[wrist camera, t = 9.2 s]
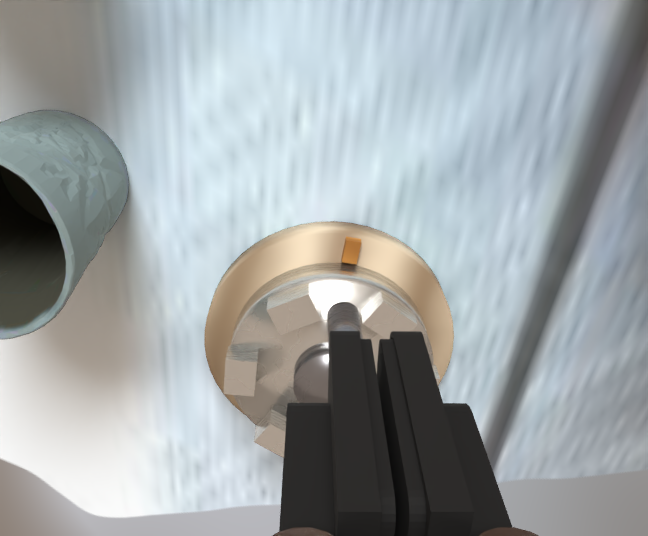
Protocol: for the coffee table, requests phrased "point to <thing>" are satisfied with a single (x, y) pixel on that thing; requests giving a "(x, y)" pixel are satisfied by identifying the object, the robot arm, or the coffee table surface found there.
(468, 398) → the coffee table surface
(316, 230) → the round tan disc base
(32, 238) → the grey-green cup
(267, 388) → the disc with radial blocks
